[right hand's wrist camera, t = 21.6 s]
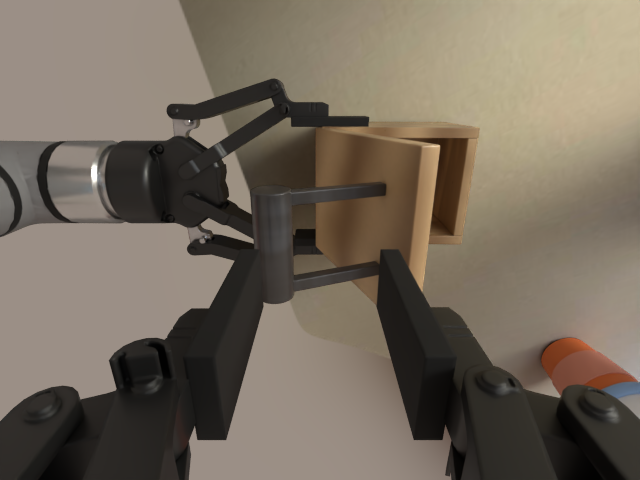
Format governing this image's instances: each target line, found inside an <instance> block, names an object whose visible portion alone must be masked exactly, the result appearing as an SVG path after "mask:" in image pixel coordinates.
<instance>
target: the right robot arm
mask: <svg viewBox="0 0 640 480" xmlns="http://www.w3.org/2000/svg"><path fill="white" fill-rule="evenodd" d="M262 310H263V293H262V278H261V263H260V249H241V250H240V252H239V254H238V256H237V258H236V260H235V262H234V263H233V265H232V267H231V269H230V271H229V273H228V274H227V276H226V278H225V280H224V282H223V284H222V286H221V287H220V289H219V291H218V293H217V295H216V297H215V298H214V300H213V302H212V304H211V306H210V308H209V309H190V310H189V311H188V312H186V313H185V314H183V315H182V316H181V317H180V318H179V319H178V321H177V322H176V324H175V325H174V327H173V330H171V331H170V333H169V334H168V336H167V338H166V339H165V340H163V339H159V338H146V339H141V340H137V341H134V342H132V343H130V344H127V345H125V346H123V347H122V348H121V349H119V350H118V351H117V352H115V353H114V354H113V356H112V357H111V358H110V360H109V362H110V366H111V369H112V373H113V377H114V381H115V384H116V388H117V389H116V391H113V392H110V393H107V394H102V395H98V396H94V397H90V398H85V399H81V400H80V397H79V394H78V392H77V391H76V390H75V389H74V388H73V387H68V386H58V387H51V388H48V389H45V390H42V391H39V392H37V393H35V394H33V395H31V396H30V397H28V398H26V399H24V400H23V401H22V402H21V403H19V404H18V405H17V406H15V407H14V408H13V409H12V410H11V411H10V412H9V413H8V414H7V415H6V416H5V417H4V418H3V419H2V420H1V421H0V480H189V469H190V458H191V452H190V446H189V439H190V437H191V434H192V431H193V429H194V426H195V428H196V434H197V440H226V438H227V435H228V431H229V428H230V424H231V421H232V417H233V413H234V410H235V406H236V403H237V399H238V396H239V392H240V388H241V385H242V381H243V378H244V374H245V370H246V367H247V363H248V359H249V356H250V353H251V349H252V345H253V342H254V338H255V335H256V331H257V328H258V324H259V320H260V317H261V313H262ZM377 310H378V313H379V317H380V320H381V324H382V328H383V331H384V335H385V338H386V342H387V345H388V349H389V353H390V356H391V360H392V363H393V367H394V370H395V374H396V378H397V381H398V385H399V388H400V392H401V396H402V399H403V403H404V406H405V410H406V413H407V417H408V421H409V424H410V428H411V431H412V435H413V438H414V440H442V439H443V434H444V428H445V425H446V427H447V429H448V432H449V435H450V437H451V440H452V441H451V446H450V451H449V456H448V462H447V467H446V474H445V475H446V476H450V473H451V479H452V480H640V419H639V418H638V417H637V416H636V415H635V414H634V413H633V412H632V411H631V410H630V409H629V408H628V407H627V406H626V405H625V404H623V403H622V402H621V401H620V400H618V399H617V398H616V397H614V396H612V395H610V394H608V393H606V392H605V391H602V390H600V389H597V388H594V387H591V386H586V385H579V384H576V385H570V386H567V387H566V388H565V389H564V390H563V391H562V394H561V397H560V398H557V397H552V396H548V395H544V394H539V393H535V392H532V391H528V390H525V389H523V387H522V385H521V384H520V382H519V381H518V380H517V379H516V378H515V377H514V376H513V375H511V374H510V373H509V372H507V371H505V370H503V369H501V368H499V367H495V366H493V365H492V363H491V362H490V360H489V358H488V357H487V355H486V354H485V352H484V351H483V349H482V348H481V346H480V345H479V343H478V342H477V340H476V339H475V337H473V334H472V333H471V331H470V330H469V328H467V325H466V324H465V322H464V321H463V319H462V318H461V316H460V315H458V314H457V313H455V312H454V311H453V310H451V309H450V308H449V307H430V306H429V304H428V302H427V300H426V298H425V297H424V295H423V293H422V291H421V289H420V287H419V286H418V284H417V282H416V280H415V278H414V276H413V274H412V273H411V271H410V269H409V267H408V265H407V263H406V262H405V260H404V258H403V256H402V254H401V252H400V250H399V249H380V263H379V278H378V293H377Z"/></svg>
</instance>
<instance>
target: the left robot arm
mask: <svg viewBox="0 0 640 480" xmlns="http://www.w3.org/2000/svg"><path fill="white" fill-rule="evenodd" d="M269 98H272V101H273V103H274V107H273V108H271V109H270V110H268V111H267V112H265V113H264V114H262V115H260V116H259V117H257V118H256V119H254V120H253V121H251V122H250V123H248V124H247V125H245V126H243V127H242V128H240V129H239V130H237V131H236V132H234V133H233V134H231V135H230V136H228V137H227V138H225V139H223V140H222V141H220V142H219V143H217V144H215V145H214V146H212V147H211V148H209V149H207V148H206V147H204V146H203V145H202V144H200V143H199V142H197V141H196V140H194V139H193V138H191V137H190V136H189V133H190V131H191V130H192V129H195V128H198V127H199V125H200V119H206V118H211V117H214V116H217V115H220V114H223V113H226V112H230V111H233V110H236V109H239V108H242V107H245V106H248V105H251V104H254V103H257V102H260V101H263V100H266V99H269ZM328 108H329V105H328V104H325V103H323V102H292V101H291V100H289V98H288V97H287V94H286V91H285V89H284V85H283V83H282V82H281V81H279V80H277V79H270V80H267V81H264V82H261V83H258V84H255V85H252V86H249V87H246V88H243V89H240V90H237V91H234V92H231V93H228V94H225V95H222V96H219V97H216V98H213V99H210V100H207V101H204V102H201V103H198V104H195V105H194V104H170V105H169V106H168V107H167V114H168V116H169V117H170V118H172V119H173V128H174V137H172V138H171V139H169V140H167V141H121V142H119V143H117V142H115V141H60V142H41V141H0V237H2V236H5V235H7V234H9V233H12V232H14V231H17V230H19V229H21V228H24V227H26V226H29V225H33V224H39V223H123V222H128V223H178V224H181V225H183V226H185V227H187V228H188V233H189V238H190V244H189V245H188V247H187V251H188V253H189V254H191V255H210V254H212V255H215V256H219V257H223V258H227V259H230V260H234V261H235V260H236V258H237V256H238V254H239V252H240V250H241V249H254V244H252V243H249V242H245V241H242V240H238V239H234V238H231V237H227V236H223V235H216V234H213V233H212V231H210V230H206V229H204V228H202V226H201V223H202V222H204V221H205V220H206V219H208V218H210V219H212V220H214V221H216V222H218V223H220V224H222V225H228V226H230V227H232V228H234V229H236V230H237V231H239V232H241V233H243V234H245V235H247V236H249V237H251V238H253V224H252V215H251V214H250V213H248V212H246V211H244V210H242V209H240V208H239V207H238V206H237V205H236V204H235V203H233V202H231V201H229V200H227V198H228V197H229V191H228V187H227V184H226V181H225V179H226V173H227V170H226V164H224V163H223V161H222V158H224V157H225V156H227V155H228V154H230V153H231V152H233V151H235V150H236V149H238V148H239V147H241V146H242V145H244V144H246V143H247V142H249V141H250V140H252V139H253V138H255V137H257V136H258V135H260V134H261V133H263V132H264V131H266V130H268V129H269V128H271V127H272V126H274V125H275V124H277V123H279V122H280V121H282V120H283V119H285V118H286V117H291V127H323V126H369V117H366V116H328ZM253 239H254V238H253ZM298 254H323V253H322V252H321V251H320V250H319V249H318V248H317V247H316V229H296V233H295V235H293V256H294V255H298Z"/></svg>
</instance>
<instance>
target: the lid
mask: <svg viewBox="0 0 640 480" xmlns="http://www.w3.org/2000/svg"><path fill="white" fill-rule="evenodd" d="M439 153H440V145H438V144H431V143H425V142H418V141H412V140H405V139H399V138H392V137H386V136H379V135H373V134H366V133H359V132H353V131H346V130H340V129H333V128H316V187H312V188H301V189H290V188H289V187H286V186H279V185H267V186H259V187H255V188H253V189H251V191H250V196H251V210H252V224H253V238H254V249H260V263H261V278H262V293H263V302H265V303H269V304H279V303H284V302H286V301H289V300H290V299H291V298H292V297H293V296H294V291H300V290H305V289H310V288H315V287H320V286H325V285H330V284H335V283H340V282H346V281H352V282H353V283H354V284H355V285H356V286H357V287H358V288H359V289H360V290H361V291H362V292H363V293H364V294H365V295H366V296H367V297H368V298H370V299H371V300H372V301H373V302H374V303H375V304H376V305H377V293H378V278H379V263H380V249H399V250H400V252H401V254H402V256H403V258H404V260H405V262H406V263H407V265H408V267H409V269H410V271H411V273H412V274H413V276H414V278H415V280H416V282H417V284H418V286H419V287H420V289H421V291H422V290H423V281H424V273H425V265H426V257H427V249H428V241H429V233H430V225H431V217H432V209H433V201H434V193H435V185H436V177H437V169H438V161H439ZM312 203H316V247H317V248H318V249H319V250H320V251H321V252H322V253H323V254H324V255H325V256H326V257H327V258H328V259H329V260H330V261H331V262H332V263H334V264H335V265H336V266H337V267H338V268H332V269H327V270H321V271H315V272H310V273H304V274H299V275H294V266H293V231H292V206H293V205H302V204H312Z"/></svg>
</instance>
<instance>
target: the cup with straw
mask: <svg viewBox="0 0 640 480" xmlns="http://www.w3.org/2000/svg"><path fill="white" fill-rule="evenodd" d="M541 362H542V366H543V368H544V369H545V371H546V372H547V374H548V375H549V377H550V378H551V380H552V382H553V385H554V387H555V388H556V390H557V391H558V392H559V394H560V395H561V394H562V391H563V390H564V389H565V388H566V387H567V386H570V385H576V384H579V385H586V386H591V387H594V388H597V389H600V390H602V391H605V392H606V393H608V394H610V395H612V396H614V397H616V398H617V399H618V400H620V401H621V402H622V403H623V404H625V405H626V406H627V407H628V408H629V409H630V410H631V411H632V412H633V413H634V414H635V415H636V416H637V417H638V418H639V419H640V382H638V381H637V380H636V379H635V378H634V377H633V376H632V375H630V374H629V373H628V372H626V371H625V370H623V369H622V368H621V367H619V366H618V365H617V364H615V363H614V362H612V361H611V360H610V359H608V358H607V357H606V356H604V355H603V354H601V353H599V352H596V351H595V350H594V349H592V348H591V347H590V346H588V345H587V344H585V343H584V342H583V341H581V340H579V339H576V338H564V339H560V340H558V341H555V342H554V343H552V344H551V345H549V346H548V347H547V348H546V349H545V351H544V353H543V355H542V359H541Z"/></svg>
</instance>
